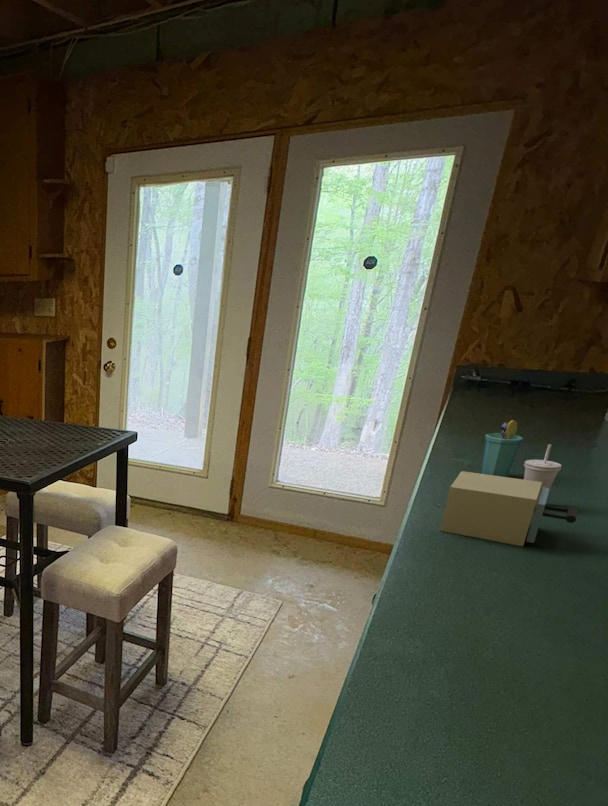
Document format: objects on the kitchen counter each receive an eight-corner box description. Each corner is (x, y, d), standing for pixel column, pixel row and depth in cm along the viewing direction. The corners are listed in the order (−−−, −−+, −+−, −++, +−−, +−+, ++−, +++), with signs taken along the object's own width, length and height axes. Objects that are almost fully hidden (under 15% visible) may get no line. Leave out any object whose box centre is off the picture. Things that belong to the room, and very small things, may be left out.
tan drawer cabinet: (529, 526, 129) (542, 482, 126) (523, 546, 120) (536, 499, 116) (451, 512, 138) (461, 471, 134) (439, 530, 128) (450, 486, 125)
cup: (507, 487, 152) (524, 426, 147) (469, 481, 157) (484, 422, 152) (515, 474, 162) (531, 416, 156) (479, 469, 167) (493, 413, 161)
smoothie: (519, 508, 139) (537, 446, 134) (508, 498, 145) (525, 439, 140) (554, 510, 137) (573, 448, 132) (542, 500, 143) (559, 441, 138)
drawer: (570, 529, 125) (582, 492, 122) (567, 549, 116) (580, 510, 113) (465, 511, 135) (474, 477, 133) (455, 528, 127) (464, 492, 124)
